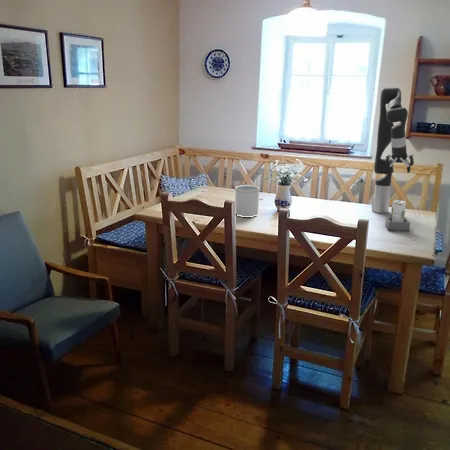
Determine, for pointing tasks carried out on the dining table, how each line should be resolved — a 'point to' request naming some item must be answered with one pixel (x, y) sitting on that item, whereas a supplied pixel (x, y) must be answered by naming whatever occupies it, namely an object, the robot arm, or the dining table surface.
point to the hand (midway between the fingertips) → (400, 172)
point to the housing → (397, 225)
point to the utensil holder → (247, 200)
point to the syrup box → (398, 211)
